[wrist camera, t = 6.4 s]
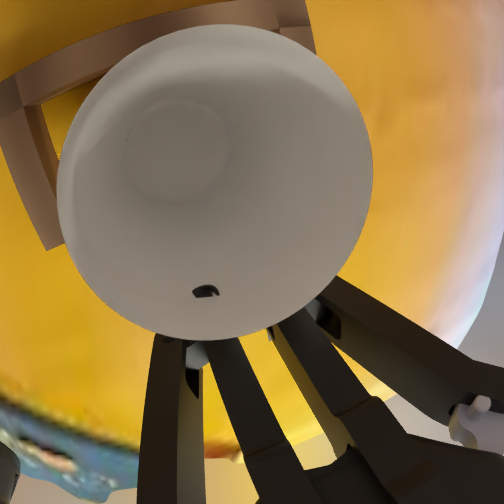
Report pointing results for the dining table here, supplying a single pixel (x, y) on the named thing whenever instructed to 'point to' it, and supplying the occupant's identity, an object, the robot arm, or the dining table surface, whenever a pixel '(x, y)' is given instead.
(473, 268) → the dining table surface
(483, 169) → the dining table surface
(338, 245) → the cup
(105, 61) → the walnut pocket
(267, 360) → the dining table surface
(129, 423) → the dining table surface
